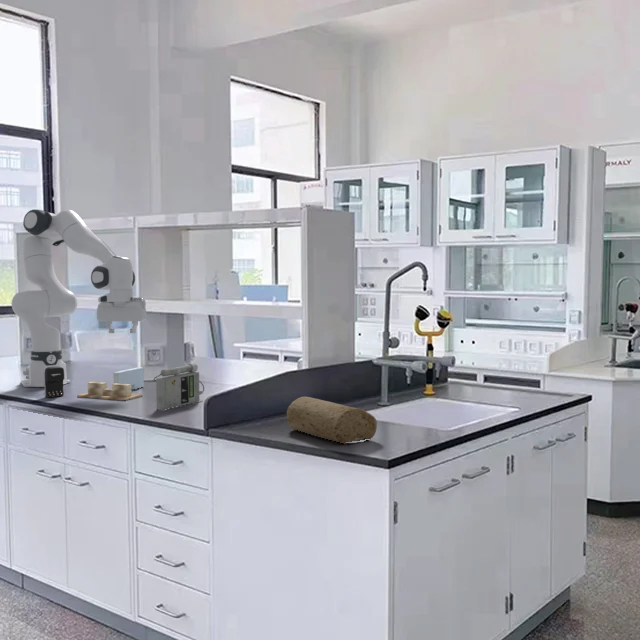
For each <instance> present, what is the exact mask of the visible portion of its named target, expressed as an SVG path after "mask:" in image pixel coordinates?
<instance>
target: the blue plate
mask: <svg viewBox="0 0 640 640" xmlns="http://www.w3.org/2000/svg"><path fill="white" fill-rule="evenodd" d="M144 369H145V368H144V367H142V366H141V367H140V366H138V367H133V368H128V369H122V370H119V371H114V372H113V373H112V374H113V375H112V377H113V384H116V383H119V384H131V390H134V389H135V390H137V388H139V389H142V388H141V387H143V388H145V375H144Z"/></svg>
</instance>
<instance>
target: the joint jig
mask: <svg viewBox="0 0 640 640" xmlns="http://www.w3.org/2000/svg"><path fill="white" fill-rule="evenodd" d="M111 387H112V388H108V383H107V382H102V381H101V382H99V381H98V382H97V381H89V382H87V392H83V393H79V394H77V395H76V397H77V398H83V397H90V398H89V399H95V398H101V399H100V400H108V399H111V400H112V401H121V400H127V401H130V400H129V399H131V400H134V399H133V398H135V399H138V398H142V397H143V394H142V393H132V392H133V389H131V384H119V383H116V384H114V383H112V384H111ZM141 396H142V397H141ZM111 400H110V401H111Z"/></svg>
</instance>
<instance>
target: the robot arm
mask: <svg viewBox="0 0 640 640" xmlns="http://www.w3.org/2000/svg"><path fill="white" fill-rule="evenodd" d="M22 223H23V224H22V225H23V228H24V230H25V231H26V232H28V233H29V235H28V236H26V237H25V238H24V240H23V245H22V246H23V253H22V254H23V261H24V268H25V275H26V278H27V280H28V282H29V283H31V284H33V285H35V286H37V287H39V288H40V289H41V290H39V289H38V290H25V291H19V292H16V293H15V294H14V296H13V297H12V299H11V308H12V312H14V314H15V315H16V316H17V317H19V318H20V319H22V321H23V322H25V324H26V326H27V327H28V329H29V332H30V338H31V339H30V341H31V352H30V361H29V364H28V365H27V366H26V368H25V369H23V370H22V374H23V376H25V379H24V378H23V379H21V380H20V383H21V385H22V386H23V387H24V388H28V387H29V388H32V387H33V388H34V387H35V388H45V387H44V369H45V368H46V367H50V366H60V367H62V368H63V369H64V380H63V386H64V385H65V384H69V383H71V379H68V377H67V363H65V362H64V361H63V360H62V359H63V352H62V349H61V332H60V330H59V329H58V328H57V327H55V326H53V325H50V324H49V323H47V321H46V318H51V317H52V318H53V317H64V316H69V315H72V314H74V313H75V311H76V310H77V307H78V298H77V296H76V295H75V294H74V292H73V291H71V290H69V289H68V288H66V287H65V286H64V285H63V284H62V283H61V282H60V281H59V278H58V277H57V275H56V274H57V273H56V271H55V267H54V261H53V256H52V255H53V254H52V249H51V248H52V246H55V247H58V246H60V245H61V244H63V243H65V244H66V246H67V247H68V248H69V249H71V250H72V251H73V252H75V253H77V254H82V255H85V256H89V257H93V258H94V259H97V260H99V261H100V262H101V263H102V264H101V265H97V266H95V267H94V268H93V269H92V271H91V275H90V280H91V284H92V285H93V287H94V288H95V289H99V290H103V291H106V290H107V291H109V292H108V293H106V294H104V295H100V296H98V298H97V302H98V303H99V304H97V309H96V311H97V312H96V319H97V321H98V322H101V323H102V322H104V323H105V325H106V327H107V329H108V334H115V328H113V326H112V325H113V322H131V325H132V326H131V328H129V333H130V334H136V333H137V332H136V329H137V327H138V326H139V322H145V321H146V320H148V319H147V309H146V305H147V304H146V303H147V302H146V300H145V299H144V298H143V297H141V296H139V297H134V288H133V287H134V285H135V281H136V275H135V272H134V269H133V262H132V260H131V259H130V258H129V257H127V256H121V255H117V254H116V253H115V252H114V251H113V250H112V249H111V247H109V246H108V244H106V243H105V242H104V241H103V240H102V239H100V238H99V237H98V236H97V235H96V234H95V233H94V232H93V231H92V230H91V229H90V228H89V226H88V225H87V224H86V222H85V221H84V219H83V218H82V217H81V216H80V215H79V214H78V213H77V212H75V211H74V210H72V209H64V210H61V211H60V212H58V213H57V214H55V213H53V212H49V211H45V210H43V209H30V210H28V212H26V214H25V215H24V218H23V222H22Z"/></svg>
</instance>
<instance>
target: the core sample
mask: <svg viewBox="0 0 640 640" xmlns="http://www.w3.org/2000/svg"><path fill="white" fill-rule="evenodd" d="M286 417H287V418H286V419H287V422H288V423H287V424H288V426H289V428H290V429H292V430H294V429H295V430H294V431H297V430H298V431H297V432H300V431H301V432H300V433H303V432H305V433H304V434H306V433H307V434H306V435H309V434H311V435H310V436H313V435H314V436H313V437H316V436H318V437H317V438H319V437H321V438H320V439H322V438H325V439H324V440H326V439H328V440H327V441H329V440H332V441H331V442H334V441H336V442H335V443H337V442H340V443H339V444H341V443H346V442H352V441H360V440H365V439H370V440H371V438H372V439H373V437H374V436H375V434H376V432H377V426H378V422H377V419H376V418H375V416H373V415H372V413H369V412H367V410H364V409H362V408H358V407H354V406H348V405H343V404H340V403H337V402H332V401H328V400H322V399H319V398H314V397H310V396H301V397H298V398H296V399H294V401H292V402H291V403H290V405H289V406H288V407H287V410H286Z"/></svg>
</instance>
